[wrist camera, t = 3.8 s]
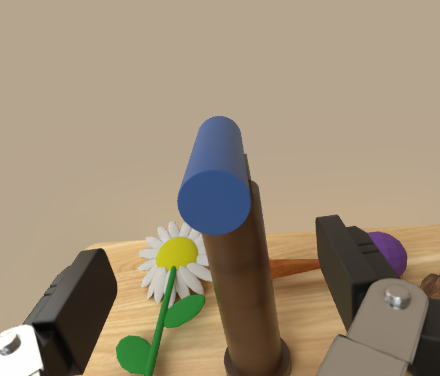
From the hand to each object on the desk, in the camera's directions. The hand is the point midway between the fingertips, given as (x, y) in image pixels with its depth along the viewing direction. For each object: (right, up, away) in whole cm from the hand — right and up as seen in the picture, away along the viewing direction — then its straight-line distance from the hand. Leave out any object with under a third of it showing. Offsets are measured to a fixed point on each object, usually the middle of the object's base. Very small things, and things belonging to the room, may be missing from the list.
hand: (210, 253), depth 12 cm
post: (+4, -15, +20) cm, 25 cm away
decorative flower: (-6, -14, +27) cm, 31 cm away
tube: (0, +4, +9) cm, 10 cm away
